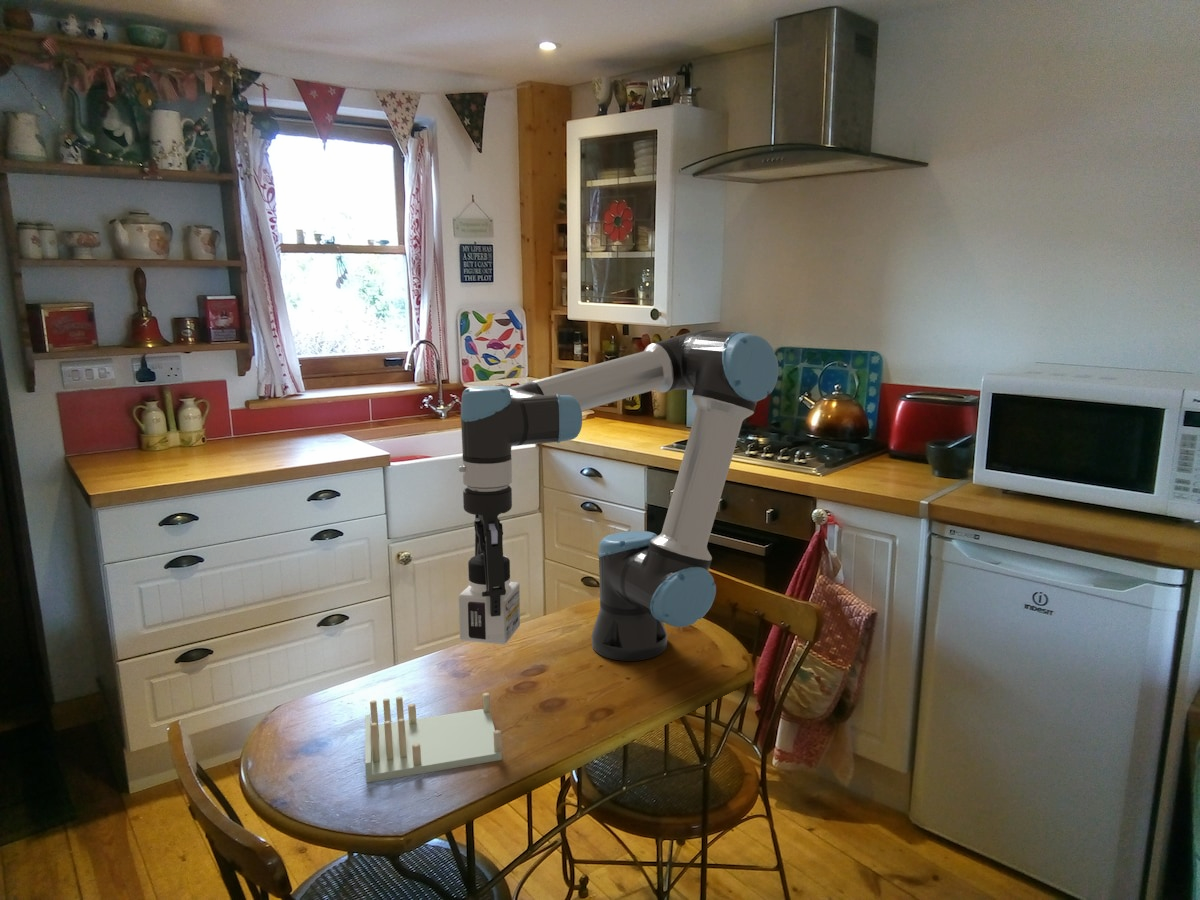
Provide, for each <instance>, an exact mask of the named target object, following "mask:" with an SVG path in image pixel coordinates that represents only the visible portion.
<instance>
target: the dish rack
mask: <svg viewBox="0 0 1200 900" xmlns="http://www.w3.org/2000/svg"><path fill="white" fill-rule="evenodd" d="M369 704H370V706H369V707H370V714H368V715H367V714H366V715H365V716H364V717H365V718H364V721H365V722H364V723H365V725H364V727H365V728H364V729H365V731H364V734H365V736H364V737H365V742H364V744H365V746H364V748H365V754H364V755H365V756H364V757H365V758H364V760H365V761H364V763H365V776H366V783H367V784H368V783H374V782H380V781H381V782H382V781H385V780H391V779H397V778H402V777H410V776H415V775H421V774H425V773H426V774H427V773H433V772H438V771H444V770H451V769H456V768H460V767H461V768H462V767H467V766H473V765H478V764H480V765H481V764H485V763H490V762H497V761H503V753H502V751H503V738H502V737H503V736H502V731H501V730H500V729H499V730H498V729H495V725H494V721H493V718H492V715H491V694H490V693H489V692H484V693H482V707H483V708H481V709H473V710H466V711H459V712H453V713H448V714H442V715H441V714H440V715H434V716H426V717H422V718H417V710H416V706H417V705H416V704H415V703H410V704H408V705H407V711H408V720H405V716H404V715H405V714H404V701H403V697H402V696H397V697H396V698H395V704H396V705H395V706H396V715H397V718H396V719H397V721H395V722H392V714H391V702H390V698H384V699H383V700H382V705H383V718H384V719H383V720H384V721H383V723H382V724H379V717H378V703H377V700H374V699H373V700H371V701H369Z"/></svg>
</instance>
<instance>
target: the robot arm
mask: <svg viewBox="0 0 1200 900" xmlns="http://www.w3.org/2000/svg"><path fill="white" fill-rule="evenodd" d="M774 350H775V349H774V348H773V346H772V345H771V344H770V342H768V341H767V339H765V338H763V337H762V336H760V335H757V334H753V333H748V332H743V331H719V330H718V331H717V330H709V329H708V330H707V329H705V330H696V331H695V330H694V331H691V332H687V333H684V334H680V335H677V336H673V337H670V338H666V339H663V340H660V341H657V342H652V343H650V344H648V345H647V346H646V347H645V348H644V350H643V351H640V352H636V353H633V354H629V355H624V356H622V357H621V356H620V357H618V358H615V359H611V360H607V361H606V360H605V361H603V362H600V363H596V364H595V363H594V364H591V365H588V366H584V367H581V368H576V369H572V370H569V371H565V372H563V373H559V374H558V373H557V374H554V375H551V376H548V377H542V378H540V379H537V380H532V381H529V382H524V383H521V384H517V385H513V386H510V385H475V386H474V385H473V386H469V387H467V388H465V389H464V390H463V391H462V395H461V401H460V417H459V418H460V425H461V426H460V427H461V444H462V445H461V447H462V464H463V465H461V466H459V467H458V471H459V472H460V473H463V474H462V483H463V485H464V486H465V487H464V488H463V490H462V494H463V495H462V499H463V500H462V501H463V502H462V503H463V504H462V505H463V510H464V511H465V512H466V513H468V514H470V515H473V516H475V517H474V518H475V519H474V521H473V526H474V531H475V533H474V534H475V535H474V556H476V555H478V554H482V553H483V556H484V567H485V579H486V592H482V597H485V615H486V635H494V634H504V604H503V595H505V594H506V589H505V578H504V561H503V555H504V547H503V543H504V542H503V540H504V539H503V535H504V529H503V522H501V519H500V518H498V516H499V515H501V514H506V513H508V512H510V511H511V510H512V508H513V494H512V493H513V492H512V491H513V489H512V487H511V484H512V482H513V481H512V480H513V479H512V477H513V471H512V470H513V467H512V466H513V465H512V464H513V463H512V462H513V461H512V447H514V446H515V447H517V446H524V445H525V446H527V445H539V444H549V443H551V444H552V443H557V444H560V443H561V442H565V441H566V442H567V441H572V440H574V439H576V438H577V437H578V436H579V435H580V433H581V430H582V426H583V412H584V411H587V410H590V409H593V408H598V407H601V406H603V405H604V406H605V405H608V404H611V403H615V402H617V401H621V400H624V399H627V398H631V397H634V396H637V395H642V394H645V393H648V392H652V391H656V392H658V393H661V394H663V393H667V392H670V391H671V392H672V391H676V390H688V391H692V394H691V399H692V400H693V403H694V404H695V407H696V410H695V415H694V417H693V421H692V425H691V428H690V432H689V435H688V438H687V442H686V446H685V450H684V452H683V457H682V460H681V463H680V467H679V471H678V474H677V476H676V477H677V478H676V480H675V485H674V488H673V491H672V495H671V498H670V502H669V505H668V509H667V513H666V516H665V519H664V522H663V526H662V530H661V533H660V534H659V535H658V534H656V533H654V532H651V531H646V530H644V531H643V530H630V531H622V532H621V531H620V532H616V533H611V534H609V535H606V536H603V538H602V539H601V540H600V542H599V545H598V546H599V547H598V555H597V557H598V567H599V568H598V569H599V571H598V572H599V575H598V576H599V577H598V580H599V610H598V613H597V616H596V620H595V623H594V626H593V629H592V632H591V646H592V649H593V650H594V652H596V653H597V654H599V656H602V657H603V658H608V659H610V660H616V661H624V662H631V661H632V662H634V661H635V662H636V661H638V662H639V661H643V660H649V659H652V658H653V659H654V658H655V657H657V656H659V655H661V654H662V653H664V652H665V650H666V649H667V647H668V633H667V629H666V627H665V624H666V625H668V626H671V627H674V628H685V627H689V626H691V625H693V624H695V623H697V621H699V620H701V619H702V618H704V617H705V615H706V614H707V613H708V612H709V610H710V609H711V607H712V605H713V603H714V601H715V597H716V594H717V585H716V583H715V579H714V577H713V575H712V574H711V573H710V567H711V563H712V560H713V557H712V555H711V554H710V551H709V550H708V543H709V540H710V536H711V532H712V530H713V529H712V528H713V526H714V522H715V519H716V515H717V512H718V509H719V504H720V501H721V498H722V494H723V490H724V487H725V483H726V480H727V478H728V474H729V470H730V467H731V466H730V465H731V463H732V460H733V457H734V456H733V455H734V453H735V450H736V445H737V442H738V440H739V435H740V431H741V428H742V425H743V421H744V420H745V419H747V418H750V417H751V416H752V415H754V414H755V409H756V407H757V403H758V402H759V401H761V400H765V399H766V398H767V397H768V395H771V394H772V392H773V391H774V389H775V387H776V385H777V382H778V377H779V362H778V357H777V355H776V354H775V352H774ZM493 587H496V588H493ZM664 623H665V624H664Z"/></svg>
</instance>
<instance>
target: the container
mask: <svg viewBox="0 0 1200 900" xmlns="http://www.w3.org/2000/svg"><path fill="white" fill-rule="evenodd" d="M503 561H504V578H505V589H506V594H505V595H503V604H504V634H494V635H486V615H485V597H482V592H486V579H485V567H484V556H483V553H482V554H478V555H476V556H475V555H473V556H472V557H470V559H469V560H468V562H467V565H468V568H467V569H468V586H467V587H466V588H464V590H462V591H461V593H460V594H459V595H458V619H459V621H458V622H459V623H458V624H459V639H460V641H463V642H473V643H483V644H484V643H485V644H494V645H507V643H508V642H509V640H511V638H512V637H513V635H514V634H515V633H516V632H517V630H518V629H519V628H520V625H521V612H520V611H521V610H520V609H521V602H520V601H521V600H520V599H521V598H520V596H521V595H520V592H521V591H520V590H521V589H520V583H519V582H518V581H511V561H510V559H509V558H508V556H506V555H504V554H503ZM493 588H496V587H493Z"/></svg>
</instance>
